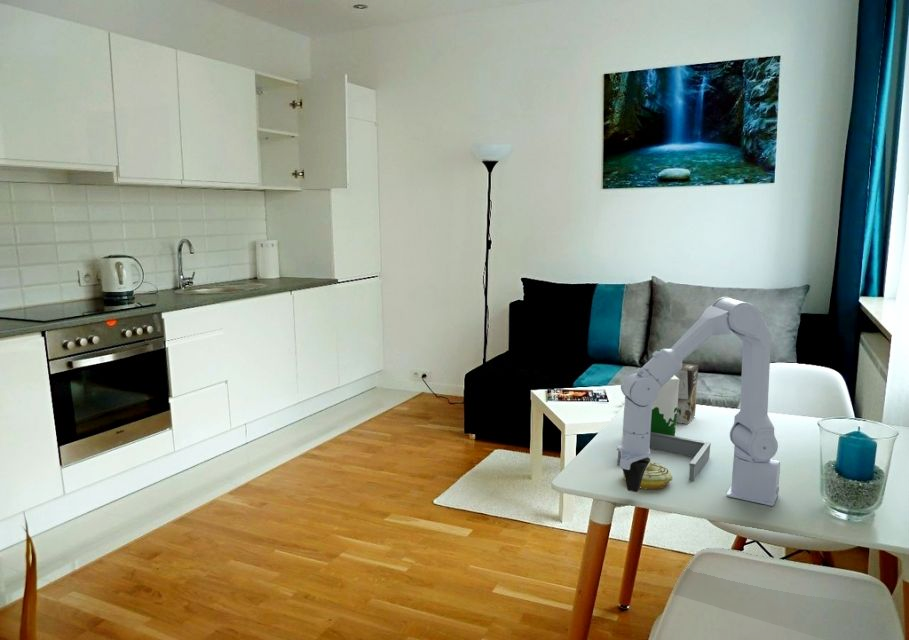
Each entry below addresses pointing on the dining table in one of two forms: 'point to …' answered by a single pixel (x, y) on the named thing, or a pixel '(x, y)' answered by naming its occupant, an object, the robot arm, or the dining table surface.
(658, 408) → the milk carton
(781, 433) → the dining table surface
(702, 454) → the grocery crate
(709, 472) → the dining table surface
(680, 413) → the coffee box
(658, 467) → the decorated donut
